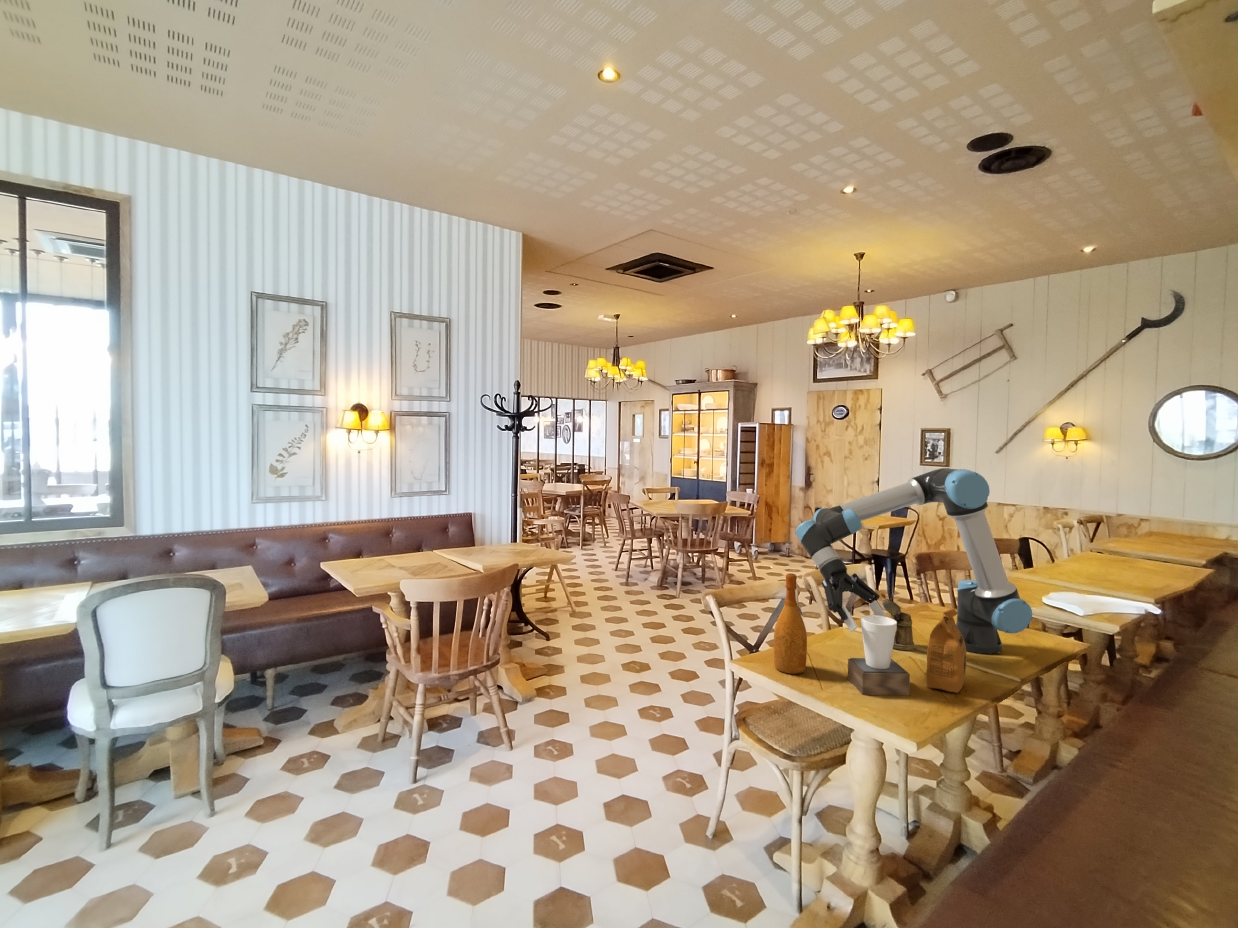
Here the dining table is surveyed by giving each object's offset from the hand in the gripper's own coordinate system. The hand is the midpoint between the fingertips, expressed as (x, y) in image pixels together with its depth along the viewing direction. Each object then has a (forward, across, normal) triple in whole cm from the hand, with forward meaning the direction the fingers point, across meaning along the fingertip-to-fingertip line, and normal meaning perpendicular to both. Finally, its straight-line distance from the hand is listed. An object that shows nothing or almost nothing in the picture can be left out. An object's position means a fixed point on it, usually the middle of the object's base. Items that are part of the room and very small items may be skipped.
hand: (870, 625), depth 168 cm
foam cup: (+9, -1, -6) cm, 11 cm away
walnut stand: (+14, 0, -10) cm, 17 cm away
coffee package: (+21, -18, -4) cm, 28 cm away
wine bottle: (-1, +12, -26) cm, 29 cm away
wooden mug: (+2, -34, -23) cm, 41 cm away
